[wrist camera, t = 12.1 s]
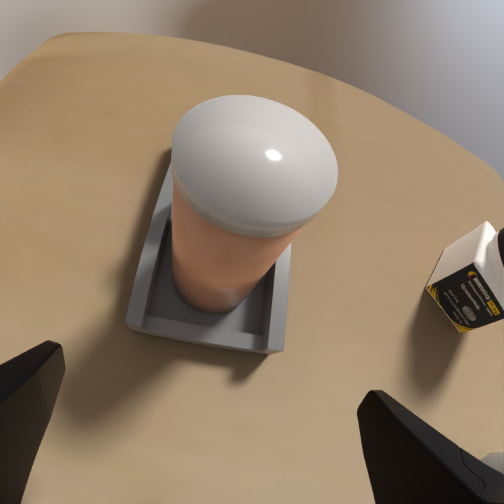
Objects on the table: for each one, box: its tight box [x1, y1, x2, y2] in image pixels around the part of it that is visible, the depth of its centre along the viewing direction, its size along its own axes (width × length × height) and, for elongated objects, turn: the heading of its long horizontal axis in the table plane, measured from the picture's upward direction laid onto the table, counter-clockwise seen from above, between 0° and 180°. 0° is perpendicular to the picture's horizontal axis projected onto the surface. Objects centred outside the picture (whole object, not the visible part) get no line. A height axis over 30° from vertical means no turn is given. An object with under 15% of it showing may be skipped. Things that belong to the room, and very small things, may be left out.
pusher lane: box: [125, 163, 291, 355], centre depth 22 cm, size 18×10×4 cm, turn 173°
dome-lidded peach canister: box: [171, 95, 338, 314], centre depth 16 cm, size 6×6×13 cm
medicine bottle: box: [426, 221, 504, 333], centre depth 22 cm, size 7×7×12 cm
